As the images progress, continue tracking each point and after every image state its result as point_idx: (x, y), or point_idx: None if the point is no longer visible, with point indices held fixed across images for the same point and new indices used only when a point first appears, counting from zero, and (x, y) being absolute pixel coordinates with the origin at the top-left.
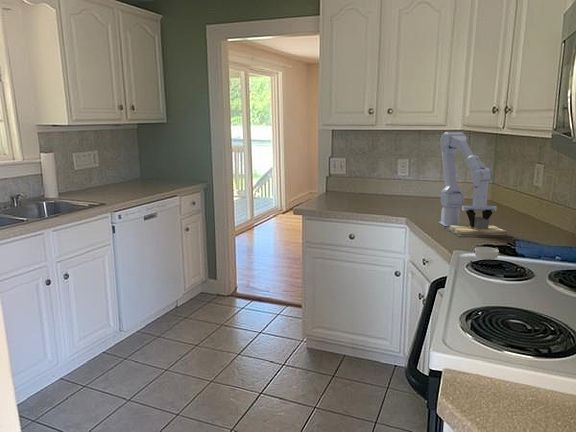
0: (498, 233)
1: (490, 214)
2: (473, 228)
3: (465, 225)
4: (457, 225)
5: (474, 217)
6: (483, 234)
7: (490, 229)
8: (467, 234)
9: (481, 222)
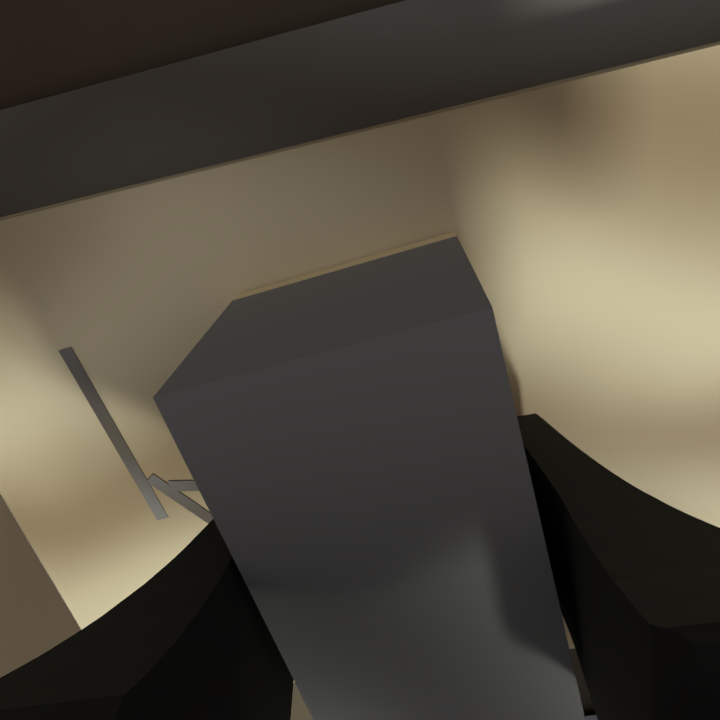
0: (50, 205)
1: (41, 669)
2: None
3: None
4: None
5: (586, 533)
6: (349, 132)
7: None
8: (706, 44)
9: (389, 311)
